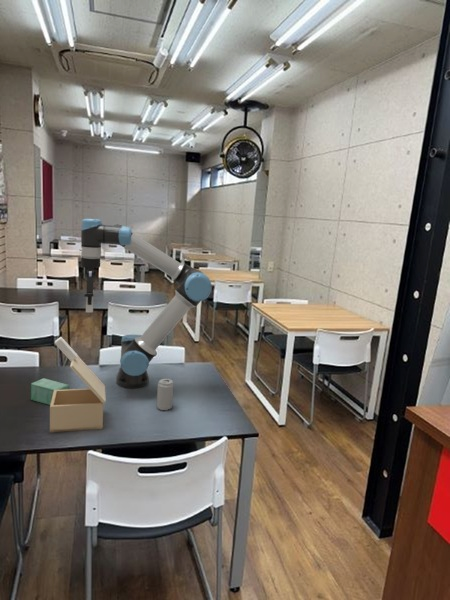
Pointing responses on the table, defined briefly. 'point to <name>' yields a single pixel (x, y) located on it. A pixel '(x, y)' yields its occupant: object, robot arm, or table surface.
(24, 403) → the table surface
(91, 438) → the table surface
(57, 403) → the carton
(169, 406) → the beverage can
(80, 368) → the lid
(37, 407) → the table surface
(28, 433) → the table surface
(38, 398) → the box
